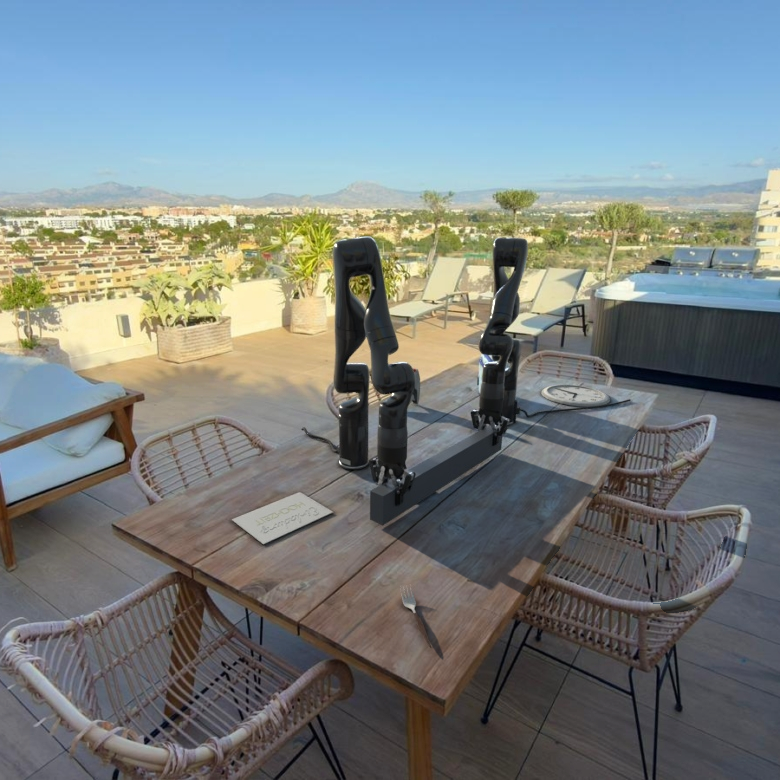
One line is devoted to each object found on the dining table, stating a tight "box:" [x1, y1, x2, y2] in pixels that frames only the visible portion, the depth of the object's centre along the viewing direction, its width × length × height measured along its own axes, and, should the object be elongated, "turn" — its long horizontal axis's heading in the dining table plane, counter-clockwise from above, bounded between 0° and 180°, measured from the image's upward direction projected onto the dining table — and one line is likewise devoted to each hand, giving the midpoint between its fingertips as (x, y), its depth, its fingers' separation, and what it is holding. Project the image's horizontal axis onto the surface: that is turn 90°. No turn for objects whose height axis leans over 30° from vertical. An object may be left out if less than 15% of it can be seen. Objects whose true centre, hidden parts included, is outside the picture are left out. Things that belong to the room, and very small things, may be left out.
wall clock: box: [541, 384, 611, 408], centre depth 239 cm, size 30×2×30 cm
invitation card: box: [231, 491, 334, 545], centre depth 137 cm, size 21×1×15 cm
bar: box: [369, 424, 504, 526], centre depth 155 cm, size 62×4×8 cm, turn 140°
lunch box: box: [476, 353, 510, 394], centre depth 230 cm, size 26×11×21 cm, turn 179°
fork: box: [399, 584, 432, 649], centre depth 101 cm, size 3×16×2 cm, turn 16°
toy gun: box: [409, 367, 421, 406], centre depth 218 cm, size 2×16×15 cm
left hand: (391, 501), depth 136 cm, fingers closed on bar, 4 cm apart
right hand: (488, 443), depth 173 cm, fingers closed on bar, 4 cm apart
